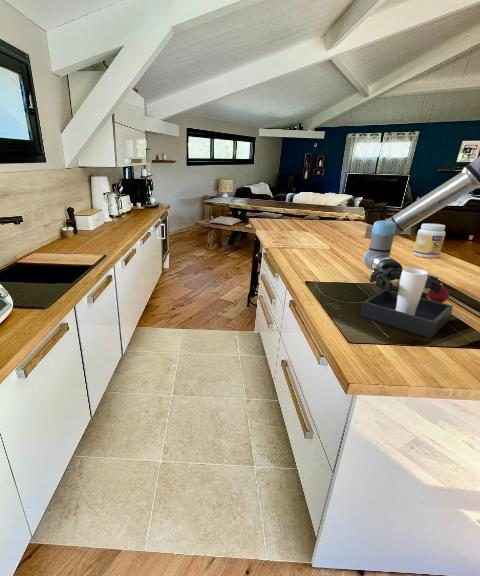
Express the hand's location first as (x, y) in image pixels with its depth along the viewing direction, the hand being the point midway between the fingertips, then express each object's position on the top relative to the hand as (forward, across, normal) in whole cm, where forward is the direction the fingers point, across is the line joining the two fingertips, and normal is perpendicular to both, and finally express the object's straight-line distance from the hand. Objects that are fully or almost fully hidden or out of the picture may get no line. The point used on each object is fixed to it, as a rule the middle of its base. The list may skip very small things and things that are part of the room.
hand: (414, 288), depth 97 cm
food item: (-135, -36, -11) cm, 140 cm away
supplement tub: (-87, -46, -11) cm, 99 cm away
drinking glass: (-2, 0, -10) cm, 10 cm away
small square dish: (-31, -15, -11) cm, 36 cm away
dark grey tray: (-2, 0, -11) cm, 11 cm away
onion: (-15, -16, -11) cm, 24 cm away
